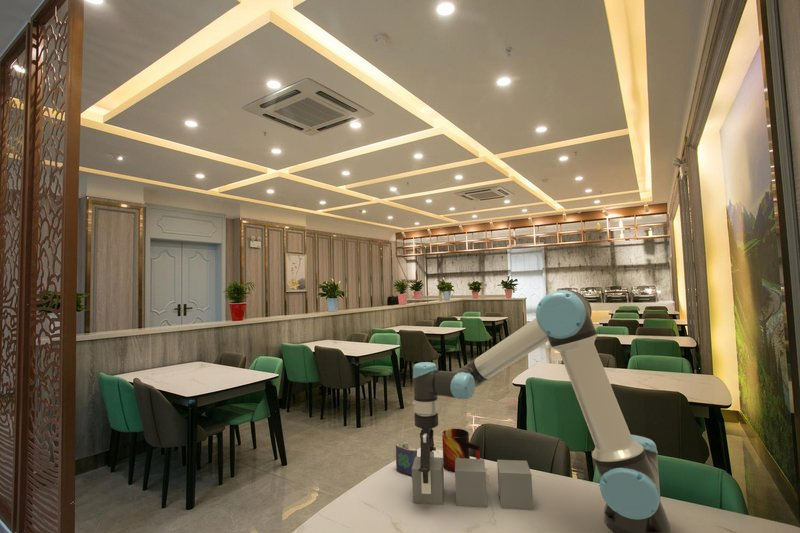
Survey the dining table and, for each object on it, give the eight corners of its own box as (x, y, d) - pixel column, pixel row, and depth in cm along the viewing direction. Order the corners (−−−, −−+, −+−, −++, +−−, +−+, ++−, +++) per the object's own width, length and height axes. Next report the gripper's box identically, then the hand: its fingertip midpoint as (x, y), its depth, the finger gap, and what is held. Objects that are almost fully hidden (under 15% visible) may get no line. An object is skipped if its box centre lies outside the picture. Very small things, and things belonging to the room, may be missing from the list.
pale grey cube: (528, 493, 121) (526, 460, 122) (533, 509, 112) (531, 474, 113) (498, 492, 123) (497, 459, 123) (501, 508, 114) (499, 472, 114)
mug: (480, 475, 134) (479, 439, 135) (441, 471, 138) (439, 436, 139) (483, 463, 143) (481, 430, 144) (446, 460, 147) (444, 427, 148)
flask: (419, 475, 136) (418, 443, 137) (414, 478, 134) (412, 446, 135) (399, 468, 142) (398, 437, 143) (393, 471, 140) (392, 440, 140)
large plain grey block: (444, 489, 125) (443, 457, 126) (442, 504, 116) (441, 470, 117) (416, 488, 127) (415, 456, 127) (412, 503, 118) (411, 468, 119)
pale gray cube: (485, 491, 123) (484, 459, 124) (487, 507, 114) (485, 472, 115) (456, 490, 125) (455, 458, 125) (456, 505, 116) (454, 470, 116)
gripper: (418, 401, 136) (420, 464, 135) (408, 425, 112) (411, 502, 110) (440, 401, 135) (442, 465, 134) (435, 426, 110) (437, 504, 109)
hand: (428, 482), depth 122 cm, fingers open, 13 cm apart
